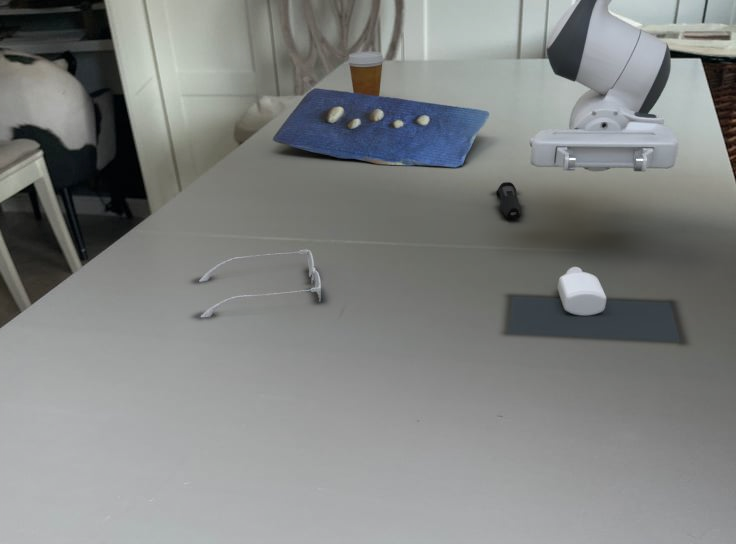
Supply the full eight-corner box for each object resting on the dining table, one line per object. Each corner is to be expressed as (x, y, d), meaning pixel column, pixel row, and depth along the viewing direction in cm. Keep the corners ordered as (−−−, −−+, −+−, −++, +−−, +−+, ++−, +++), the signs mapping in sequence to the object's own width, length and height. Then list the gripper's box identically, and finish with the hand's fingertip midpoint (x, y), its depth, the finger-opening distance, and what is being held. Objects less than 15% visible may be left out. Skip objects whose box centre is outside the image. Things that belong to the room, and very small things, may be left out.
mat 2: (669, 306, 114) (670, 302, 114) (679, 345, 105) (680, 341, 105) (511, 300, 118) (512, 296, 118) (508, 337, 109) (508, 333, 108)
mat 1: (492, 144, 190) (495, 96, 181) (459, 213, 176) (461, 165, 167) (317, 122, 202) (311, 76, 193) (273, 185, 188) (265, 138, 179)
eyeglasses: (324, 310, 118) (322, 284, 116) (200, 323, 116) (195, 297, 114) (311, 270, 130) (309, 245, 127) (198, 281, 128) (194, 257, 126)
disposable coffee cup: (347, 102, 221) (345, 52, 213) (382, 99, 221) (381, 50, 214) (351, 110, 213) (349, 59, 206) (386, 107, 214) (386, 56, 207)
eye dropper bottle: (600, 282, 108) (585, 249, 118) (560, 300, 110) (549, 266, 120) (611, 309, 111) (595, 274, 120) (571, 326, 113) (559, 291, 122)
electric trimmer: (501, 225, 143) (502, 207, 141) (495, 195, 155) (496, 178, 153) (523, 225, 143) (524, 206, 140) (515, 195, 154) (516, 178, 152)
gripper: (532, 115, 121) (530, 139, 111) (674, 115, 118) (687, 141, 107) (527, 159, 125) (526, 187, 115) (665, 160, 122) (676, 190, 111)
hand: (605, 165), depth 111 cm, fingers open, 8 cm apart
